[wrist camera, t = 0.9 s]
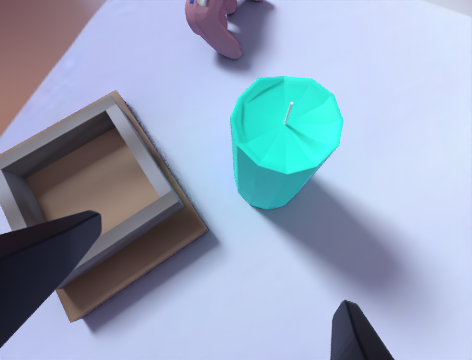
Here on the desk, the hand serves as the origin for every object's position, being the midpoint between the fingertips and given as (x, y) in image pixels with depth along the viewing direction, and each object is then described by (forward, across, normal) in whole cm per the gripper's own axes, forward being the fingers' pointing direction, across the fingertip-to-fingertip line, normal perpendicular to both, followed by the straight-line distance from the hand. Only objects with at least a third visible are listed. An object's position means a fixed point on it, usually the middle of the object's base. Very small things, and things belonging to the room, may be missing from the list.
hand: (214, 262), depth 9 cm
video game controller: (+26, +8, -8) cm, 29 cm away
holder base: (+11, +12, +8) cm, 18 cm away
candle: (+15, -1, +4) cm, 16 cm away
